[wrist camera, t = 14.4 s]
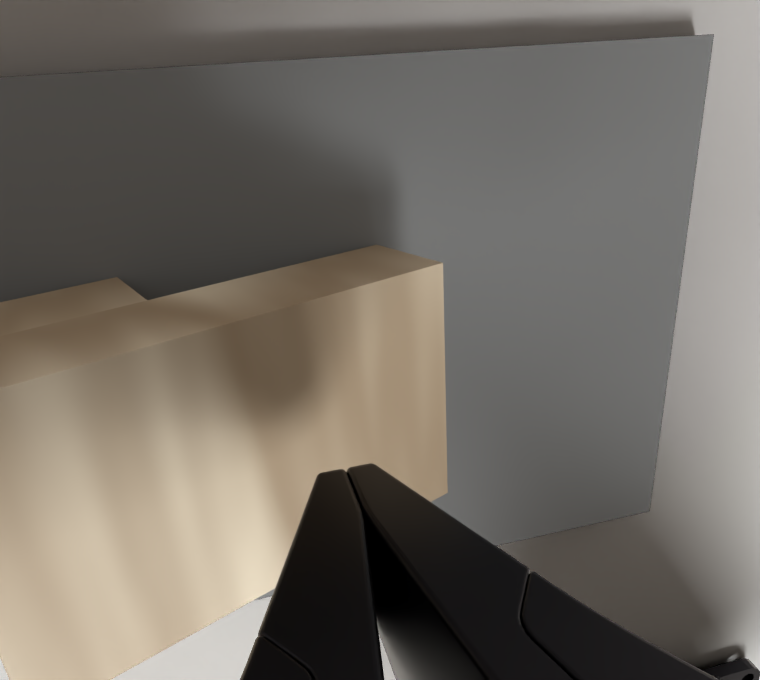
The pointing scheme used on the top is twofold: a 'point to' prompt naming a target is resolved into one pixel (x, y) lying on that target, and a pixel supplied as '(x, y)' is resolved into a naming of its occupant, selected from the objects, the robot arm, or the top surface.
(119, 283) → the domino
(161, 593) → the domino
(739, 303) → the top surface
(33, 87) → the mat
